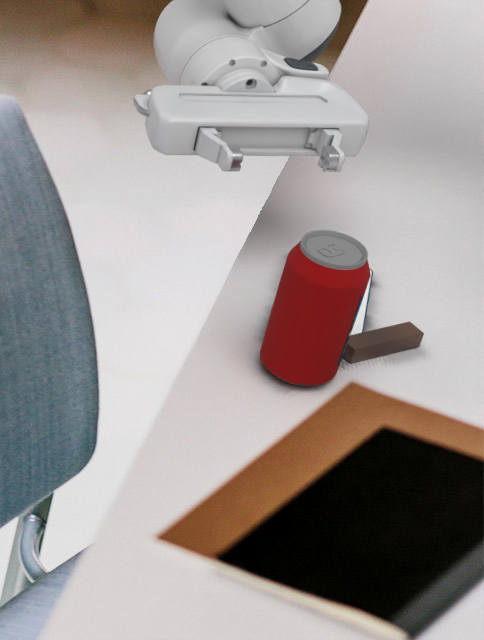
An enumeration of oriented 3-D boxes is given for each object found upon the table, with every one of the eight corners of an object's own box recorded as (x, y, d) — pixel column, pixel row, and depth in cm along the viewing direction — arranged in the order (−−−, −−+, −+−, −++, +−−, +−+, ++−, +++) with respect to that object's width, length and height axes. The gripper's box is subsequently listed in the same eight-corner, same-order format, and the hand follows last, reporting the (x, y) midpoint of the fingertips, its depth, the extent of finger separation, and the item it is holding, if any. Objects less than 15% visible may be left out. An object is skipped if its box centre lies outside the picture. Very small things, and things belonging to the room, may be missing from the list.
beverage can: (351, 378, 102) (394, 257, 94) (297, 402, 98) (337, 278, 90) (295, 337, 106) (332, 218, 98) (240, 358, 102) (274, 236, 94)
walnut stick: (404, 334, 108) (409, 320, 107) (419, 346, 107) (424, 333, 106) (335, 351, 105) (340, 337, 104) (349, 364, 103) (354, 350, 102)
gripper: (133, 59, 108) (177, 128, 98) (339, 64, 113) (402, 131, 102) (122, 124, 112) (163, 197, 102) (322, 126, 117) (380, 197, 107)
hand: (285, 164), depth 102 cm, fingers open, 8 cm apart
